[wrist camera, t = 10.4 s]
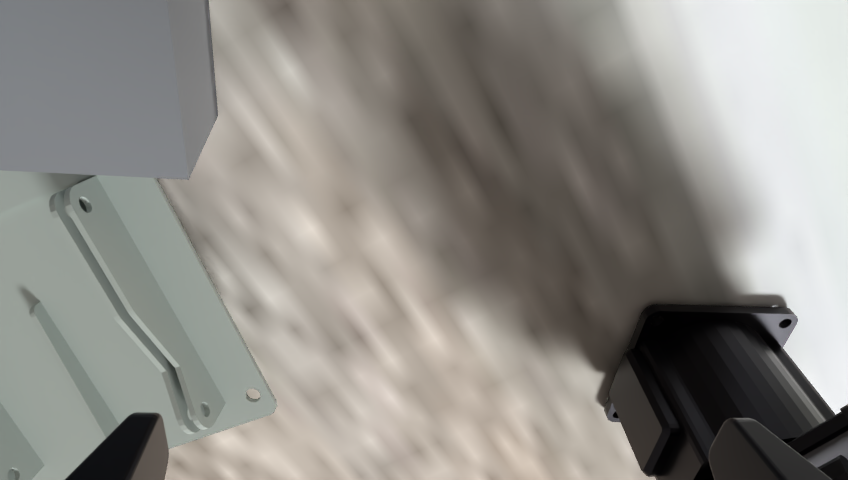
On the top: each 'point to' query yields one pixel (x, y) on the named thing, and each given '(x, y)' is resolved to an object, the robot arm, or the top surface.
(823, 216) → the top surface
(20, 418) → the metal bracket
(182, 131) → the well block
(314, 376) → the top surface
